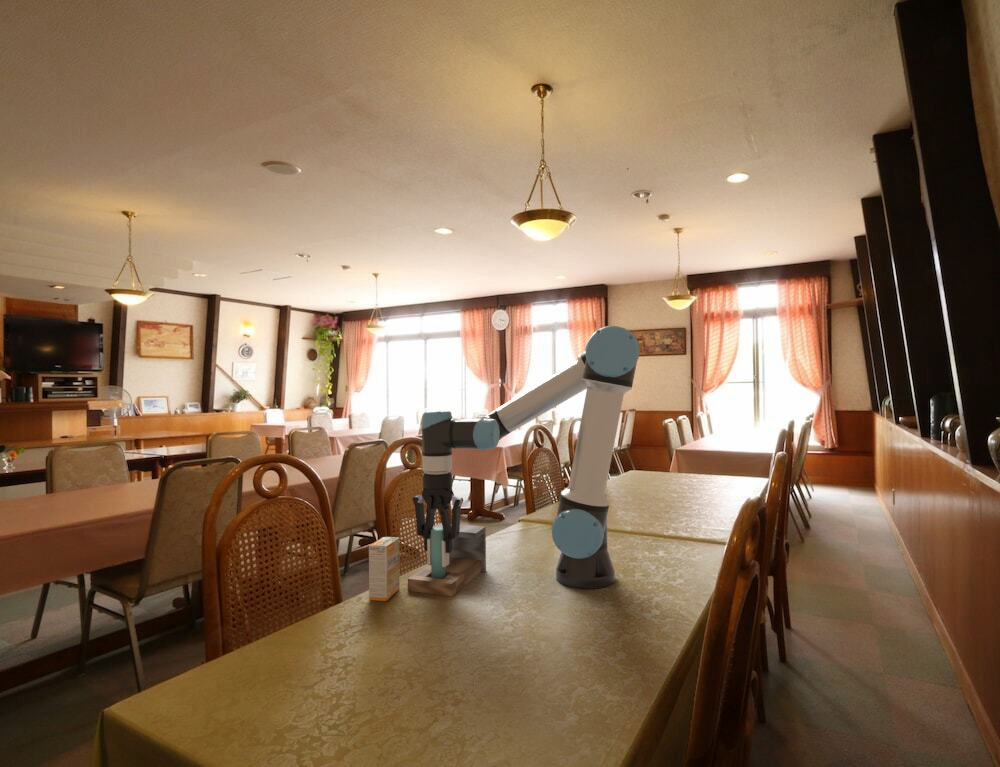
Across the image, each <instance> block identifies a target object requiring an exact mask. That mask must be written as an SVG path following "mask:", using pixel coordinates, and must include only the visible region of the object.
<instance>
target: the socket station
mask: <svg viewBox="0 0 1000 767" xmlns="http://www.w3.org/2000/svg"><path fill="white" fill-rule="evenodd" d="M451 525H452V523H451ZM433 528H443V527H442V522H439V523H437V524H435V525H433ZM486 530H487V529H486V526H482V525H481V526H480V525H470V524H469V525H467V524H460V530H459V536H457V537H456V538H454V539H452V552H450V553H449V564H448V565H447V566H446V577H445V578H444V579H439V578H431V565H430V566H429V565H426V566H424V567H423V568H421V569H420V570H419V571H417V572H415V573H414V574H412V575H410V576H409V577H408V578H407V591H408V592H413V593H416V592H417V593H422V594H429V595H431V594H432V595H438V596H446V597H454V595H455V594H456V593H458V592H459V591H460V590H461V589H462V588H464V587H465V586H466V585H467V584H469V582H471V581H472V580H473V579H474V578H475V577H476V576H478V575H479V574H480V573H482V572H483V573H484V572H486V571H487V549H486V548H487V543H486V542H487V540H486V538H487V534H486Z"/></svg>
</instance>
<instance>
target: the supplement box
mask: <svg viewBox="0 0 1000 767" xmlns="http://www.w3.org/2000/svg"><path fill="white" fill-rule="evenodd" d="M368 570H369V571H368V589H369V590H368V591H369V592H368V596H369V597H368V600H370V601H376V602H377V601H380V602H387V601H388V600H389V599H390V598H391V597H392V596H393V595H395V593H396V592H398V591H399V590H400V537H397V536H396V537H395V536H393V537H392V536H383V537H380V538H379V539H378V540H375V541H374V542H373V543H371V544H369V545H368Z"/></svg>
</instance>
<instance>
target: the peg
mask: <svg viewBox="0 0 1000 767" xmlns="http://www.w3.org/2000/svg"><path fill="white" fill-rule="evenodd" d="M443 539H444V533H443V528H433V529H431V578H439V579H444V578H445V577H446V567H442V540H443Z"/></svg>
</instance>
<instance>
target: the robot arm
mask: <svg viewBox="0 0 1000 767" xmlns="http://www.w3.org/2000/svg"><path fill="white" fill-rule="evenodd" d="M639 357H640V345H639V342H638V339H637V338H636V336H635V335H634V333H632V332H631V331H630V330H629V329H626V328H625V327H621V326H619V325H607V326H603V327H601V328H599V329H598V330H596V331H594V332H593V333H592V335H591V336H590V338H588V340H587V342H586V346H585V351H584V352H581V353H580V354H579V355H578V356H577V359H576V361H574V362H573V363H571V364H569V365H567V366H566V367H564V368H563V369H561V370H559V371H558V372H556V373H554V374H552V375H551V376H549V377H547V378H546V379H545V380H542V381H541V382H539V383H537V384H536V385H534V386H532V387H531V388H529V389H527V390H526V391H524V392H522V393H521V394H518V395H517V396H516V397H514V398H512V399H510V400H509V401H508V402H506V403H504V404H503V405H501V406H499V407H498V408H496V409H494V410H492V411H490V412H489V413H487V414H486V415H484V416H481V417H475V418H474V417H473V418H454V417H453V415H452V412H451V411H450V410H427V411H424V412H423V414H422V420H421V443H422V444H421V446H422V450H421V451H422V452H421V453H422V454H421V456H422V457H421V458H422V463H421V466H422V467H421V470H422V471H423V473H422V492H421V494H418V495H416V496H413V497H412V502H413V504H414V508H415V510H414V512H415V513H414V514H415V525H416V535H417V536H418V537H419V536H420V537H422V538H423V541H424V542H423V544H424V548H423V549H424V551H425V552H427V553H426V554H427V556H426V557H427V562H426V563H427V565H426V566H428V565H429V566H430V565H431V529H433V526H434V523H435V522H434V521H435V515H436V511H437V510H438V514H440V519H441V523H442V527H443V533H444V539H443V540H442V567H446V566H447V565H448V564H449V553H450V552H452V539H454V538H456V537H457V536H459V530H460V525H461V511H462V510H461V508H462V505H463V503H464V499H463V497H458V496H456V495H455V494H454V491H453V473H452V472H451V471H452V470H453V449H468V450H470V449H471V450H481V451H482V450H483V451H484V450H489V449H490V450H494V449H496V448H497V447H498V444H499V442H500V441H501V440H502V439H503V438H505V437H506V436H508V435H509V434H511V433H512V432H515V431H516V430H518V429H520V428H521V427H522V426H525V425H527V424H528V423H530V422H532V421H534V420H535V419H537V418H538V417H540V416H542V415H543V414H545V413H547V412H549V411H551V410H552V409H554V408H555V407H557V406H559V405H561V404H563V403H564V402H566V401H568V400H569V399H571V398H573V397H574V396H576V395H578V394H579V393H582V392H583V391H585V390H586V393H585V397H584V403H583V409H582V414H581V418H580V423H579V424H580V425H579V430H578V434H577V440H576V444H575V450H574V455H573V460H572V466H571V471H570V476H569V481H568V482H569V483H568V486H566V487H565V488H564V489H563V490H561V491H560V496H559V501H558V503H557V505H558V506H557V511H556V515H555V518H554V520H553V521H552V524H551V537H552V541H553V543H554V545H555V546H556V548H557V549H558V550H559V551H560V555H559V558H558V562H557V566H556V568H555V579H556V580H557V581H558V582H559V583H560V584H563V585H565V586H568V587H572V588H576V589H577V588H578V589H599V588H606V587H608V586H610V585H613V584H614V582H615V580H616V577H615V575H616V574H615V573H616V572H615V569H614V565H613V563H612V559H611V555H610V553H609V551H608V512H609V509H610V501H609V500H608V497H607V494H606V489H607V483H608V477H609V472H610V469H611V463H612V457H613V452H614V447H615V442H616V441H615V440H616V437H617V431H618V426H619V421H620V416H621V410H622V406H623V401H624V395H625V394H626V393H627V392H629V391H631V390H632V388H633V384H634V379H635V372H636V369H637V368H636V367H637V363H638V360H639ZM424 502H425V503H426V508H425V505H424V504H425V503H424ZM450 503H451V505H452V512H451V517H450V505H449V504H450ZM425 512H426V514H425ZM425 515H426V516H425ZM451 524H452V525H451Z"/></svg>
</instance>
